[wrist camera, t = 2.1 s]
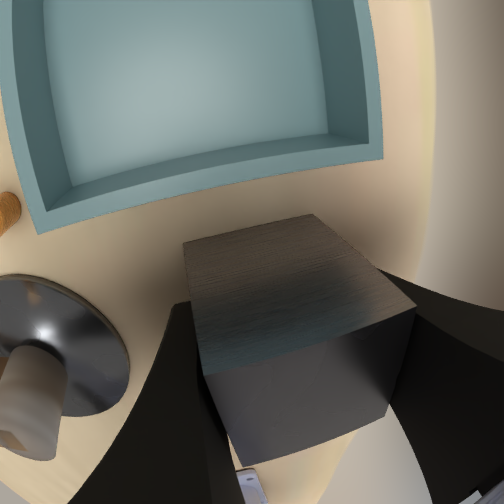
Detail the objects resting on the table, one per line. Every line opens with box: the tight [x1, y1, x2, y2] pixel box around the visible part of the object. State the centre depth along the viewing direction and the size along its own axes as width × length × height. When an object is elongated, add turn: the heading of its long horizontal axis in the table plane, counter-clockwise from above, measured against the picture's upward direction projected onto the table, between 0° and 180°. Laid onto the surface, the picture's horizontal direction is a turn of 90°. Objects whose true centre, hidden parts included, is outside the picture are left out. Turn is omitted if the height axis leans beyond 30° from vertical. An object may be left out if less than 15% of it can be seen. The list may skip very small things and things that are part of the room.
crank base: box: [0, 192, 129, 417], centre depth 7 cm, size 10×7×3 cm
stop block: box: [183, 214, 417, 467], centre depth 8 cm, size 4×4×5 cm
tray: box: [0, 0, 383, 235], centre depth 5 cm, size 8×8×2 cm
